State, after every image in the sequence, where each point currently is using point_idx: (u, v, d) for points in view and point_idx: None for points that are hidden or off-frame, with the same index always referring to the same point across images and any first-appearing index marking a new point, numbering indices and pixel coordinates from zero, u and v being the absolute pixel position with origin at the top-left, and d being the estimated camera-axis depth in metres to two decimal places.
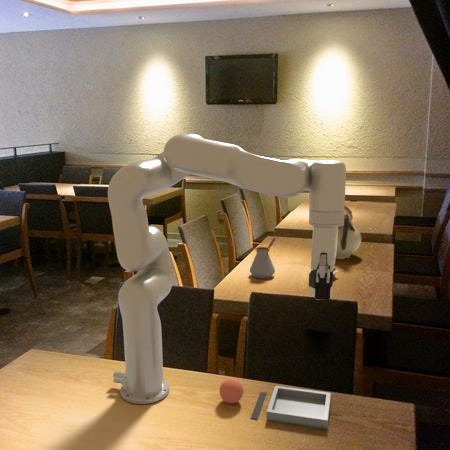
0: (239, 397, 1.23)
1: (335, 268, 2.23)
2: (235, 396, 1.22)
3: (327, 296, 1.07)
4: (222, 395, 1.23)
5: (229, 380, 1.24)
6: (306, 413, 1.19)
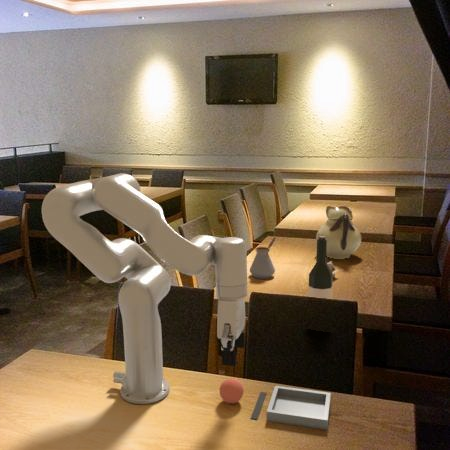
0: (239, 397, 1.23)
1: (334, 268, 2.23)
2: (235, 396, 1.22)
3: (232, 362, 1.17)
4: (222, 395, 1.23)
5: (229, 380, 1.24)
6: (306, 413, 1.19)
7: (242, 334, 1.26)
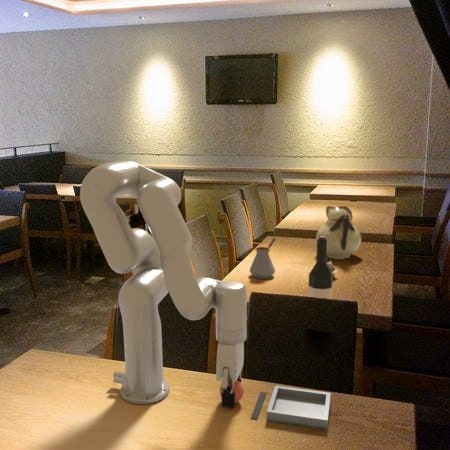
0: (239, 397, 1.23)
1: (334, 268, 2.23)
2: (235, 396, 1.22)
3: (232, 404, 1.21)
4: None
5: None
6: (306, 413, 1.19)
7: (239, 380, 1.27)
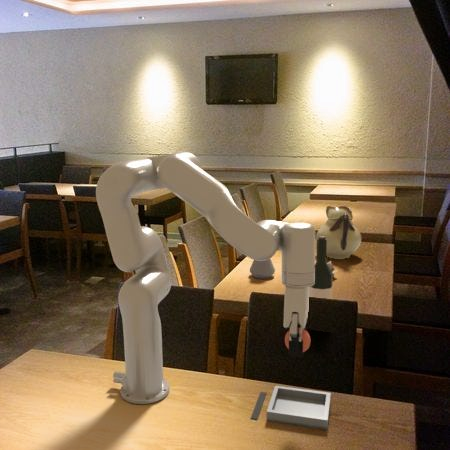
0: (307, 346, 1.15)
1: (334, 268, 2.23)
2: (303, 344, 1.15)
3: (300, 353, 1.14)
4: None
5: None
6: (306, 413, 1.19)
7: None
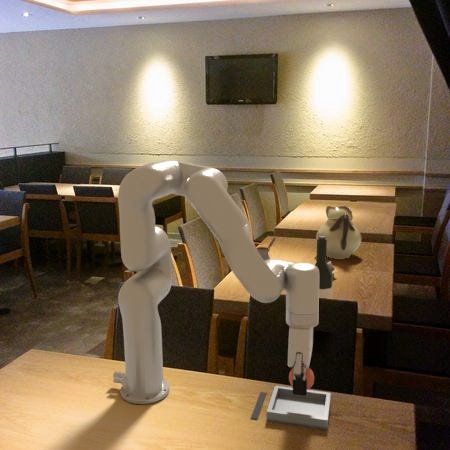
0: (311, 384, 1.17)
1: (333, 268, 2.23)
2: (307, 383, 1.16)
3: (304, 392, 1.16)
4: None
5: None
6: (306, 413, 1.19)
7: None
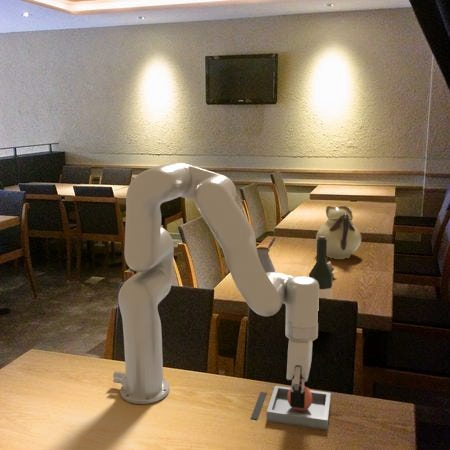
0: (309, 404, 1.18)
1: (333, 268, 2.23)
2: (305, 403, 1.17)
3: (302, 404, 1.15)
4: None
5: None
6: (306, 413, 1.19)
7: None
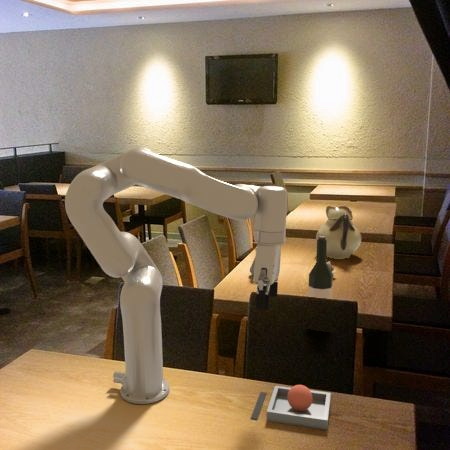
0: (309, 405, 1.18)
1: (333, 268, 2.23)
2: (305, 404, 1.17)
3: (266, 306, 1.21)
4: (291, 402, 1.18)
5: (298, 387, 1.19)
6: (306, 413, 1.19)
7: (275, 283, 1.30)
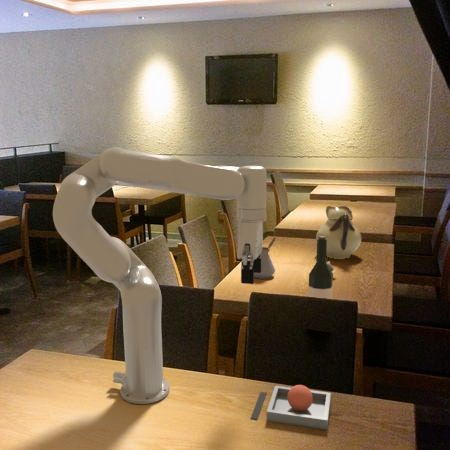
0: (309, 405, 1.18)
1: (333, 268, 2.23)
2: (305, 404, 1.17)
3: (251, 280, 1.27)
4: (291, 403, 1.18)
5: (298, 387, 1.19)
6: (306, 413, 1.19)
7: (259, 259, 1.35)
